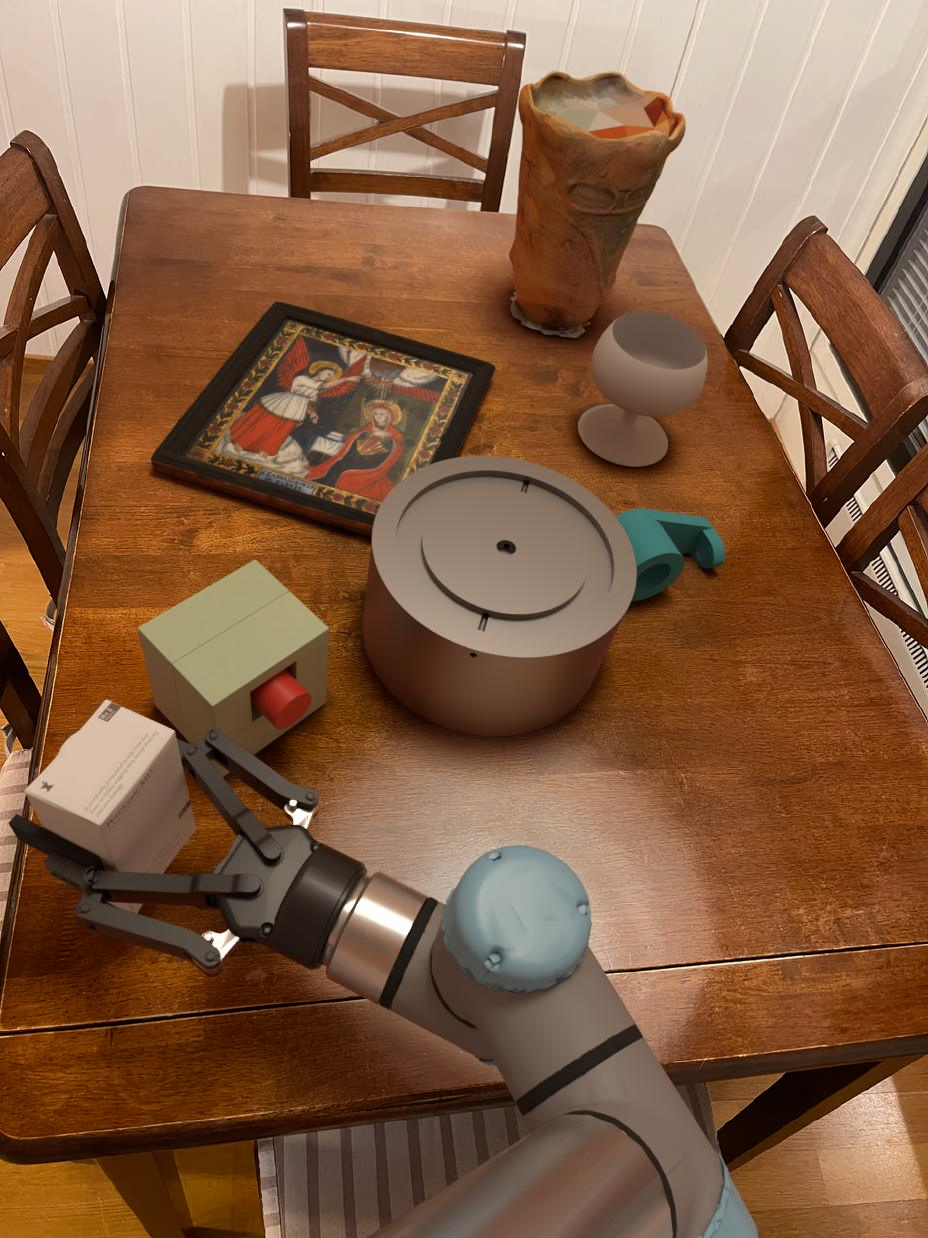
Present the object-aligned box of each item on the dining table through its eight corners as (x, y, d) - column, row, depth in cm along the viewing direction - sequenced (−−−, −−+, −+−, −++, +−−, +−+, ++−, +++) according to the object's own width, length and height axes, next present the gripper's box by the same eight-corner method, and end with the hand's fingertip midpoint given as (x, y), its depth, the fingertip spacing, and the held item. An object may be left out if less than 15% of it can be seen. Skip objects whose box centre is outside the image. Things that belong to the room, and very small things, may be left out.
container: (613, 580, 100) (650, 496, 90) (577, 767, 84) (617, 692, 74) (402, 518, 101) (415, 428, 91) (328, 692, 85) (333, 607, 75)
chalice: (568, 395, 120) (598, 296, 108) (667, 410, 121) (707, 314, 109) (572, 465, 111) (605, 366, 99) (679, 480, 112) (724, 384, 101)
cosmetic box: (135, 918, 65) (99, 836, 54) (66, 883, 66) (16, 794, 55) (200, 824, 70) (180, 730, 59) (136, 792, 71) (103, 693, 60)
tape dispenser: (585, 562, 101) (603, 514, 95) (694, 540, 106) (718, 493, 100) (611, 606, 98) (632, 560, 92) (722, 581, 103) (749, 535, 97)
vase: (627, 290, 139) (695, 83, 115) (612, 363, 126) (685, 147, 103) (497, 255, 139) (539, 42, 116) (469, 324, 126) (509, 100, 103)
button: (311, 710, 77) (312, 685, 74) (275, 737, 75) (274, 712, 72) (271, 670, 79) (270, 644, 76) (234, 695, 77) (232, 669, 74)
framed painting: (246, 306, 121) (245, 287, 119) (496, 363, 122) (500, 345, 119) (139, 494, 97) (135, 474, 95) (451, 563, 98) (454, 546, 96)
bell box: (325, 703, 85) (329, 628, 75) (221, 778, 78) (212, 706, 69) (259, 638, 88) (255, 558, 79) (154, 705, 82) (136, 627, 72)
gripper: (264, 1088, 56) (-33, 926, 59) (409, 815, 68) (158, 694, 72) (260, 1063, 50) (-70, 884, 53) (419, 770, 63) (145, 640, 66)
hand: (61, 775), depth 62 cm, fingers closed on cosmetic box, 8 cm apart
